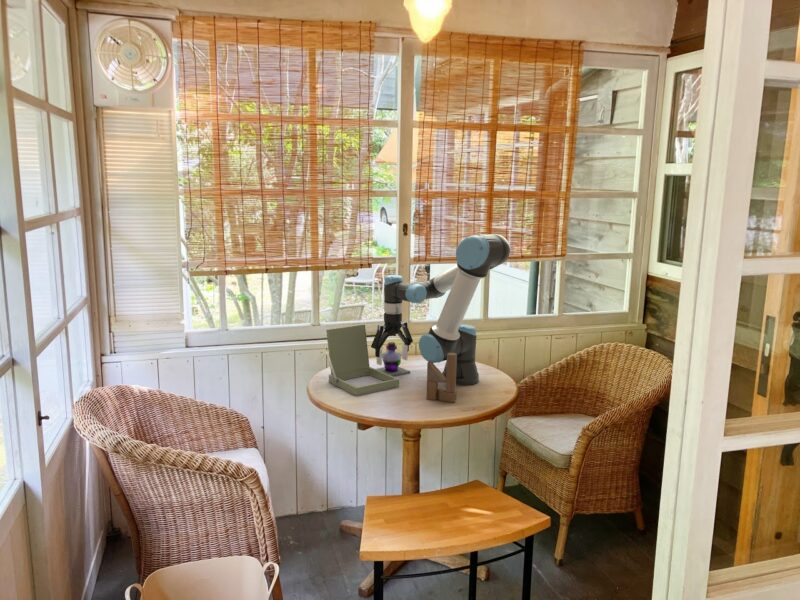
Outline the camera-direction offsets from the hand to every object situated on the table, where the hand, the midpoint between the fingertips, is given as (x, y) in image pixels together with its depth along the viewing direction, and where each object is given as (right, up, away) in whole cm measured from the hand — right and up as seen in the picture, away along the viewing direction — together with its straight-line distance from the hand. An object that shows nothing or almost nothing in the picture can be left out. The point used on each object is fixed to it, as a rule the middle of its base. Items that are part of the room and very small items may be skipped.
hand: (392, 361), depth 264 cm
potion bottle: (0, -4, +1) cm, 4 cm away
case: (-13, -7, -15) cm, 21 cm away
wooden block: (+19, -11, -32) cm, 39 cm away
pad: (0, -4, +1) cm, 4 cm away
